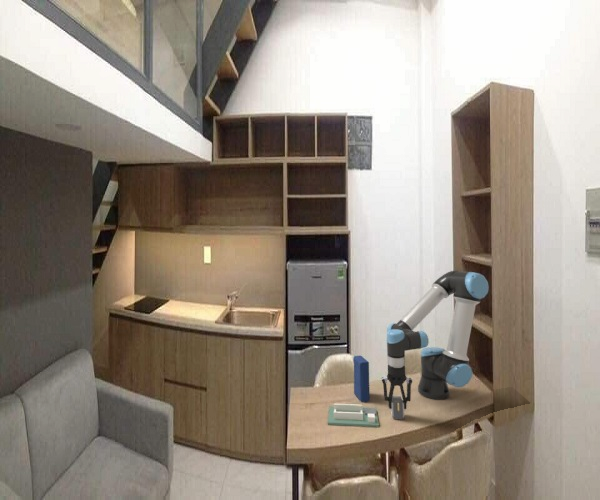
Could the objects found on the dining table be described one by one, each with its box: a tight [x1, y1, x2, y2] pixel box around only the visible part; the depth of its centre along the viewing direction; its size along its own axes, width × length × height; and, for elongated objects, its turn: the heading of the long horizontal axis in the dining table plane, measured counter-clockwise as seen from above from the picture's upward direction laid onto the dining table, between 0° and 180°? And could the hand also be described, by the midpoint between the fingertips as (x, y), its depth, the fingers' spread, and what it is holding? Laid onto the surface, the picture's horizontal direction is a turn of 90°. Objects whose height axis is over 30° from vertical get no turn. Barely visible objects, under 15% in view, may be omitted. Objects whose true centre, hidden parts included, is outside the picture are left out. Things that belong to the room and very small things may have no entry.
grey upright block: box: [392, 395, 404, 420], centre depth 150 cm, size 4×6×8 cm, turn 173°
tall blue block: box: [352, 355, 371, 403], centre depth 169 cm, size 10×5×20 cm, turn 13°
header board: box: [327, 403, 380, 428], centre depth 151 cm, size 22×14×4 cm, turn 82°
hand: (397, 415), depth 151 cm, fingers closed on grey upright block, 4 cm apart
